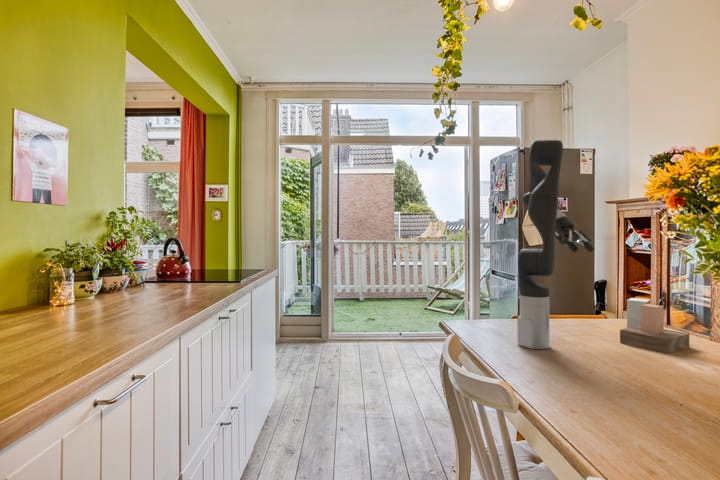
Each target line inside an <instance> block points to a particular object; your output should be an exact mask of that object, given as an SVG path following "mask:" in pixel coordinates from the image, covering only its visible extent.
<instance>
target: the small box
mask: <svg viewBox="0 0 720 480" xmlns="http://www.w3.org/2000/svg"><path fill="white" fill-rule="evenodd" d="M645 304H651V299H649V298H648V299H645V298H637V297H631V298H628V299H626V328H631V327H636V326H640V325H641V305H645Z"/></svg>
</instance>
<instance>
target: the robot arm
mask: <svg viewBox="0 0 720 480" xmlns="http://www.w3.org/2000/svg"><path fill="white" fill-rule="evenodd" d="M563 152H564V145H563V142H562V140H557V139H544V140H543V139H537V140H533V141H532V142H531V144H530V146H529V151H528V171H529V172H528V173H529V183H528V192H527V193H525V194H524V195H522V203H523V204H524V206H525V207H526V208H527V215H528V217H529V220H530V221H531V222H532V224H533V226H534V227H535V228H536V229H537V232H538V234H539V235H540V238H541V240H542V248H522V249H520V250H519V252H518V255H517V268H518V288H519V316H518V317H517V345H518V346H521V347H525V348H527V349H529V350H535V349H536V350H546V349H549V348H550V345H551V343H550V340H551V339H550V289H549V287H547V286H545V285H543V284H540V283H538V281H537V282H536V281H535V280H534V279H533V278H532V276H535V277H537V276H539V277H550V276H552V274H553V272H554V270H555V269H554V268H555V251H556V250H555V246H556V245H555V244H556V243H555V240H557V241H558V242H559V244H561V245H565V247H568V248H569V249H570V250H571V251H572V252H573V253H577V252H578V251H579V247H578V246H577V245H576V243H577V244H581V246H583V247H584V249H586V250H587V251H588V253H593V252H594V250H595V247H594V246H593V245H592V244H591V241H592V238H590V237H589V236H588V235H587V234H586V233H584V231H583V230H581V229H580V230H579V231H577V229H576V230H575V225H574V222H573V221H572V220H570V218H569V217H568V216H567V215H565V213H564V212H562V211H561V210H560V209H559V208H558V205H559V187H560V185H559V184H560V183H559V182H560V175H561V168H562V167H561V166H562V162H563V161H562V159H563V154H564V153H563ZM541 166H546V167H550V168H549V170H548V172H547V173H546V171H545V170H544V169H543V168H542V167H541ZM555 238H556V239H555ZM562 239H563V240H562Z"/></svg>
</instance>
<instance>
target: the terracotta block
mask: <svg viewBox="0 0 720 480" xmlns="http://www.w3.org/2000/svg"><path fill="white" fill-rule="evenodd" d="M664 322H665V321H664V305H658V304H651V303H650V304H645V305H641V331H643V332H648V333H653V334H659V333H664V325H665V324H664Z"/></svg>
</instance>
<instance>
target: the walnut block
mask: <svg viewBox="0 0 720 480" xmlns="http://www.w3.org/2000/svg"><path fill="white" fill-rule="evenodd" d="M619 343H620V344H623V345H624V344H625V345H629V346H632V347H636V346H637V347H638V348H642V349H647V350H650V351H654V352H659V353H663V354H667V355H668V354H672V353H676V352H680V351H682V350H685V349H686V350H687V349H689V348H690V333H687V332H681V331H676V330H675V331H674V330H670V329H664V333H659V334H653V333H648V332H643V331H641V325H640V326H636V327H631V328H627V327H626V328H622V329H619ZM679 350H680V351H679Z"/></svg>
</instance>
